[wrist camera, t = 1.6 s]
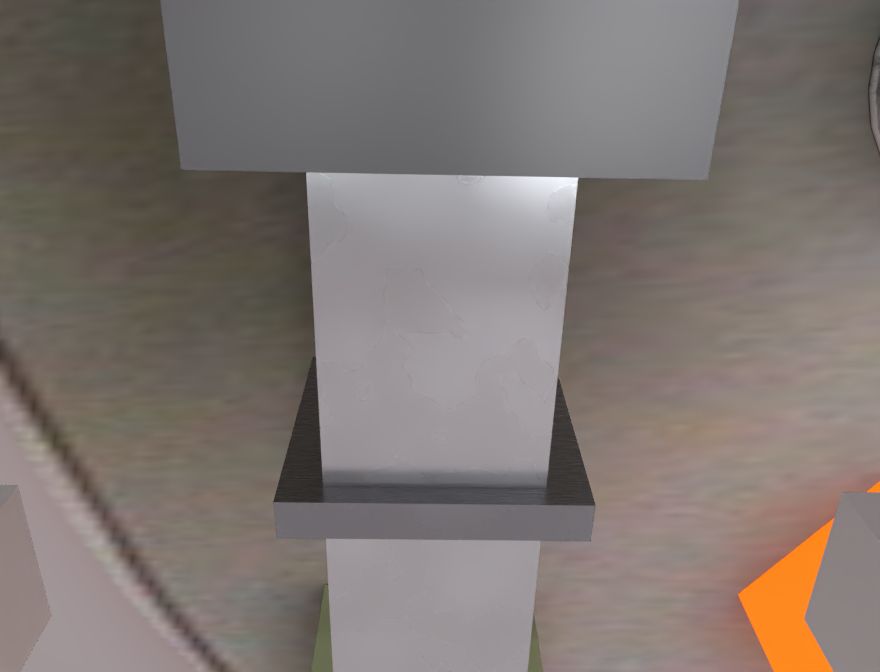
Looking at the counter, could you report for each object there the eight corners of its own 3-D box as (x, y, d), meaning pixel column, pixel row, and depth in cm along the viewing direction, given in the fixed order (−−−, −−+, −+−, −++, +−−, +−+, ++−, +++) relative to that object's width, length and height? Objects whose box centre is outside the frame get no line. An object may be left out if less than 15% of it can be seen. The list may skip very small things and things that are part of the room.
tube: (268, -435, 15) (169, -662, 9) (630, -423, 16) (754, -639, 10) (324, 560, 27) (294, 738, 21) (533, 562, 27) (563, 740, 21)
